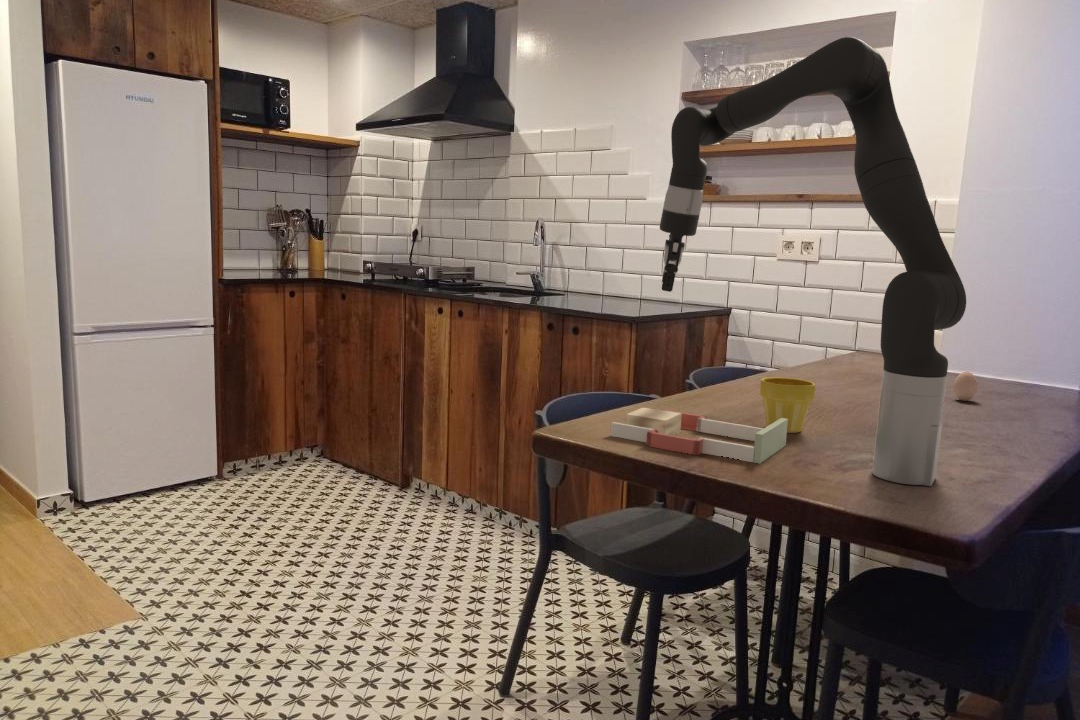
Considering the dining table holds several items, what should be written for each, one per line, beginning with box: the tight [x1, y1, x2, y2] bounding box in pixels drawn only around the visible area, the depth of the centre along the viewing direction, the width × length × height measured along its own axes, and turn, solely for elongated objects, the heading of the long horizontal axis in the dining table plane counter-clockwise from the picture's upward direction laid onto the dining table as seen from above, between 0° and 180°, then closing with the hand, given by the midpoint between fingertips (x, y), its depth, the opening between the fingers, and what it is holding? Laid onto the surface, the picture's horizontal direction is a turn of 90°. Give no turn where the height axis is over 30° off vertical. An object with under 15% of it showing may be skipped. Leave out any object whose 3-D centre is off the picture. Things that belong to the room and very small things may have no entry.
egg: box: [952, 371, 979, 402], centre depth 202 cm, size 5×5×7 cm
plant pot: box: [759, 376, 816, 434], centre depth 161 cm, size 10×10×10 cm
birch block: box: [625, 407, 683, 436], centre depth 154 cm, size 8×8×4 cm
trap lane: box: [610, 408, 788, 465], centre depth 149 cm, size 28×20×5 cm
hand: (666, 286), depth 170 cm, fingers open, 8 cm apart
